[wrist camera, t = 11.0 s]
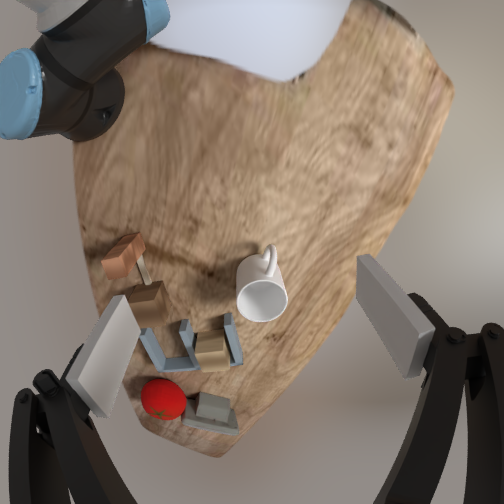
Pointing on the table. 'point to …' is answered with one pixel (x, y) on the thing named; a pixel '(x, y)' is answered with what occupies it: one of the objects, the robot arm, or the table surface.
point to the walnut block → (144, 295)
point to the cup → (260, 287)
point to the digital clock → (210, 414)
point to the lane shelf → (189, 347)
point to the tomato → (163, 399)
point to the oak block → (213, 351)
